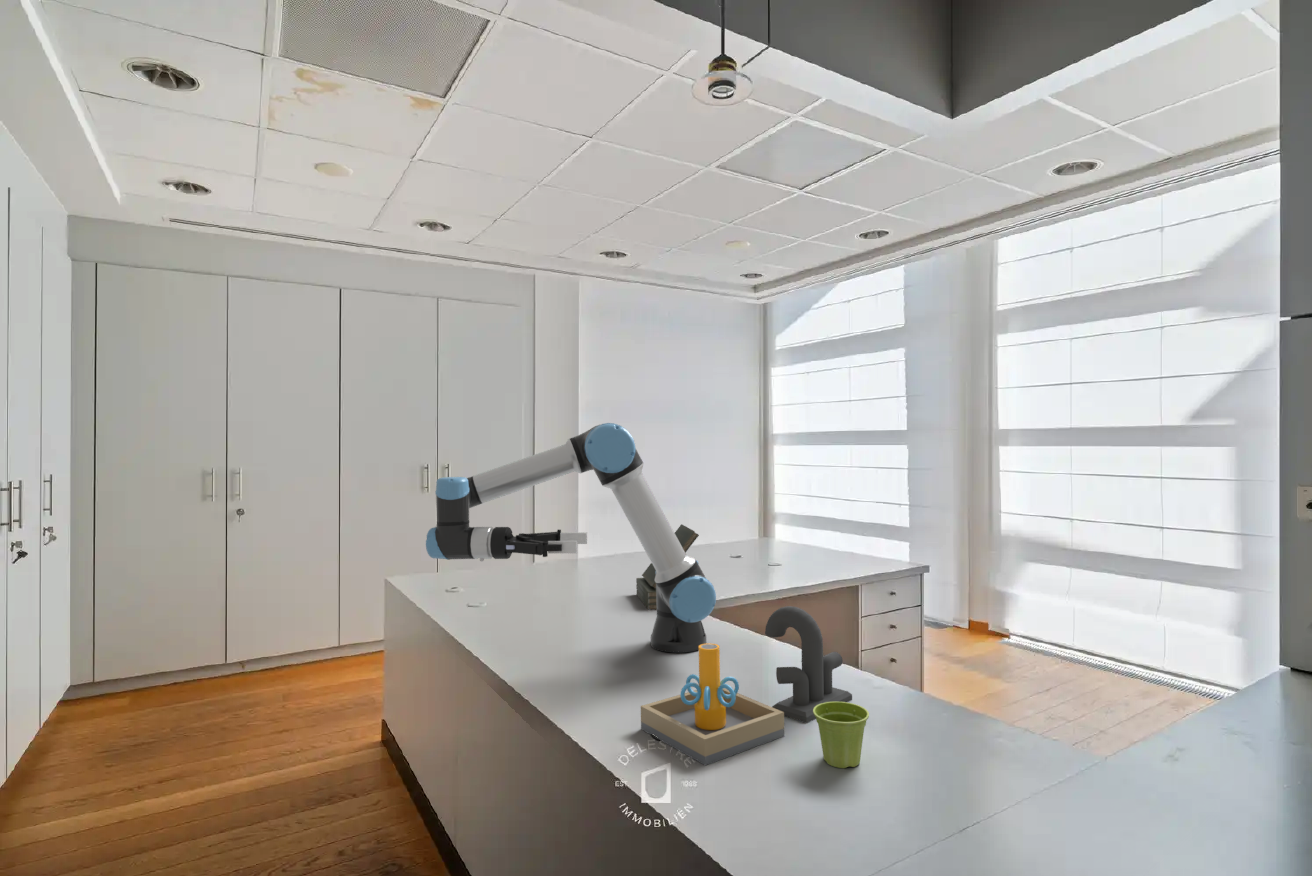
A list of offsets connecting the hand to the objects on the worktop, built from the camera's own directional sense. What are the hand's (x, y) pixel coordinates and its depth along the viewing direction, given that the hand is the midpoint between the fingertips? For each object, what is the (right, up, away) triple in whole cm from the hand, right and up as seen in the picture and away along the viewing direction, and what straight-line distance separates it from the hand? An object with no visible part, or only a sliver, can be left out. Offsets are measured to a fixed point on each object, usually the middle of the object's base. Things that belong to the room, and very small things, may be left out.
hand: (582, 542), depth 170 cm
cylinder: (+28, -30, -32) cm, 52 cm away
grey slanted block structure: (+22, -32, +78) cm, 87 cm away
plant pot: (+50, -32, -44) cm, 74 cm away
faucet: (+48, -32, -16) cm, 59 cm away
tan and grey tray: (+28, -32, -32) cm, 53 cm away
